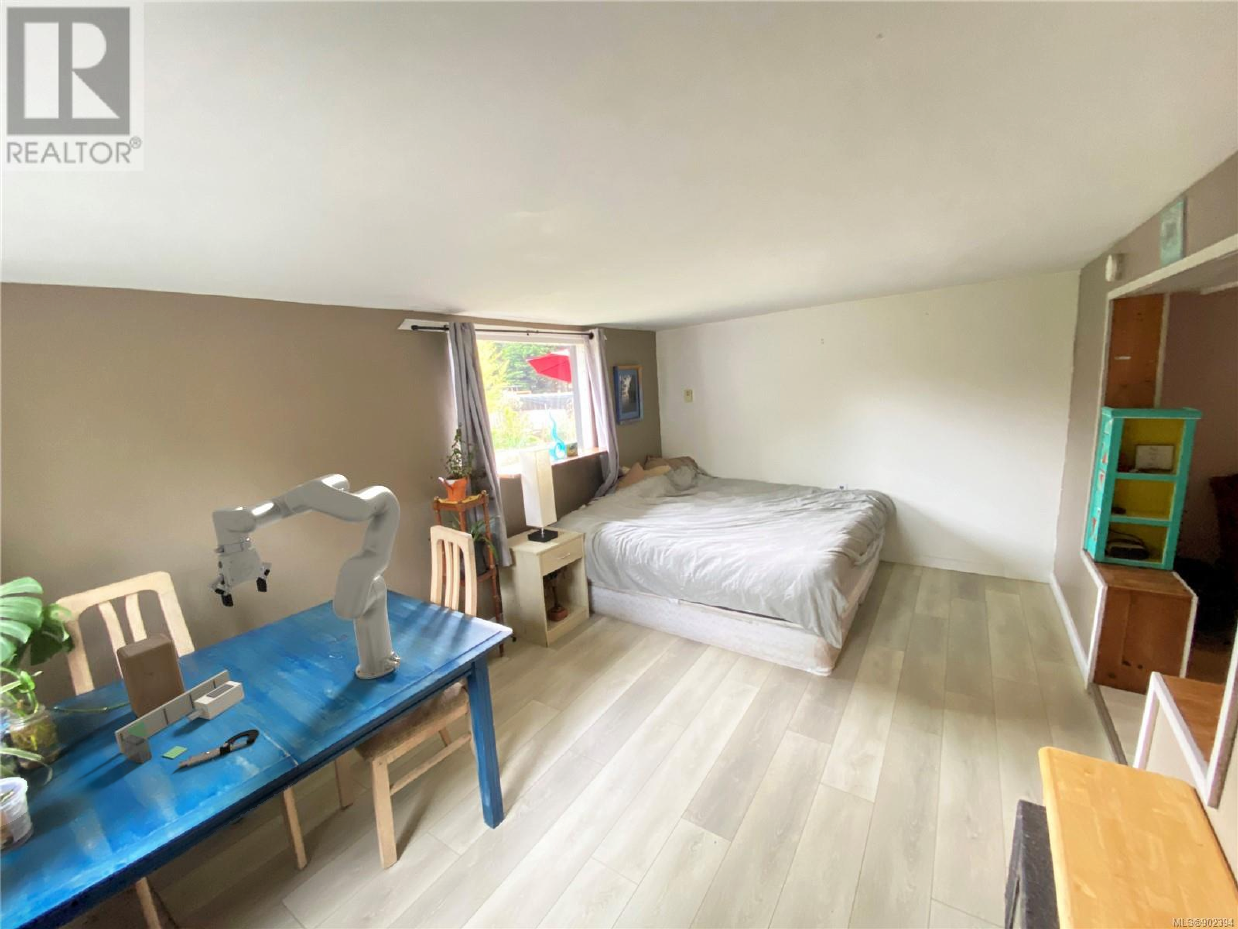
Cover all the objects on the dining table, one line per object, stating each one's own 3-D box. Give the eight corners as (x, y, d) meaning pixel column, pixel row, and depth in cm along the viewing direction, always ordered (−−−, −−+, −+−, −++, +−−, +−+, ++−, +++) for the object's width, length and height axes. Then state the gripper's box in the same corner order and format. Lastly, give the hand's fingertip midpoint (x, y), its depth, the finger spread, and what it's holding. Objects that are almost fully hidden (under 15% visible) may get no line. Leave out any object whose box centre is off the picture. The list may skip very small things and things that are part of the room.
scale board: (232, 688, 139) (228, 670, 138) (123, 753, 115) (117, 733, 114) (229, 687, 139) (225, 670, 138) (120, 752, 115) (114, 732, 114)
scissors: (261, 727, 122) (259, 719, 122) (257, 745, 116) (255, 736, 116) (187, 752, 115) (185, 743, 114) (179, 772, 109) (176, 763, 108)
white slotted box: (244, 698, 134) (241, 682, 133) (197, 728, 123) (193, 711, 122) (232, 695, 135) (229, 680, 135) (185, 724, 124) (181, 708, 123)
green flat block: (187, 749, 115) (187, 749, 115) (173, 759, 112) (173, 758, 112) (177, 746, 116) (176, 746, 116) (162, 756, 113) (162, 755, 113)
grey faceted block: (152, 757, 113) (147, 737, 112) (142, 764, 111) (136, 743, 110) (136, 753, 115) (131, 733, 114) (126, 759, 113) (120, 739, 112)
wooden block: (141, 723, 125) (123, 658, 122) (131, 710, 130) (114, 648, 127) (188, 701, 133) (173, 640, 130) (177, 690, 139) (163, 631, 135)
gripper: (210, 558, 128) (223, 613, 131) (273, 537, 144) (282, 587, 148) (193, 556, 131) (206, 610, 134) (257, 536, 147) (266, 585, 150)
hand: (246, 598), depth 141 cm, fingers open, 9 cm apart
